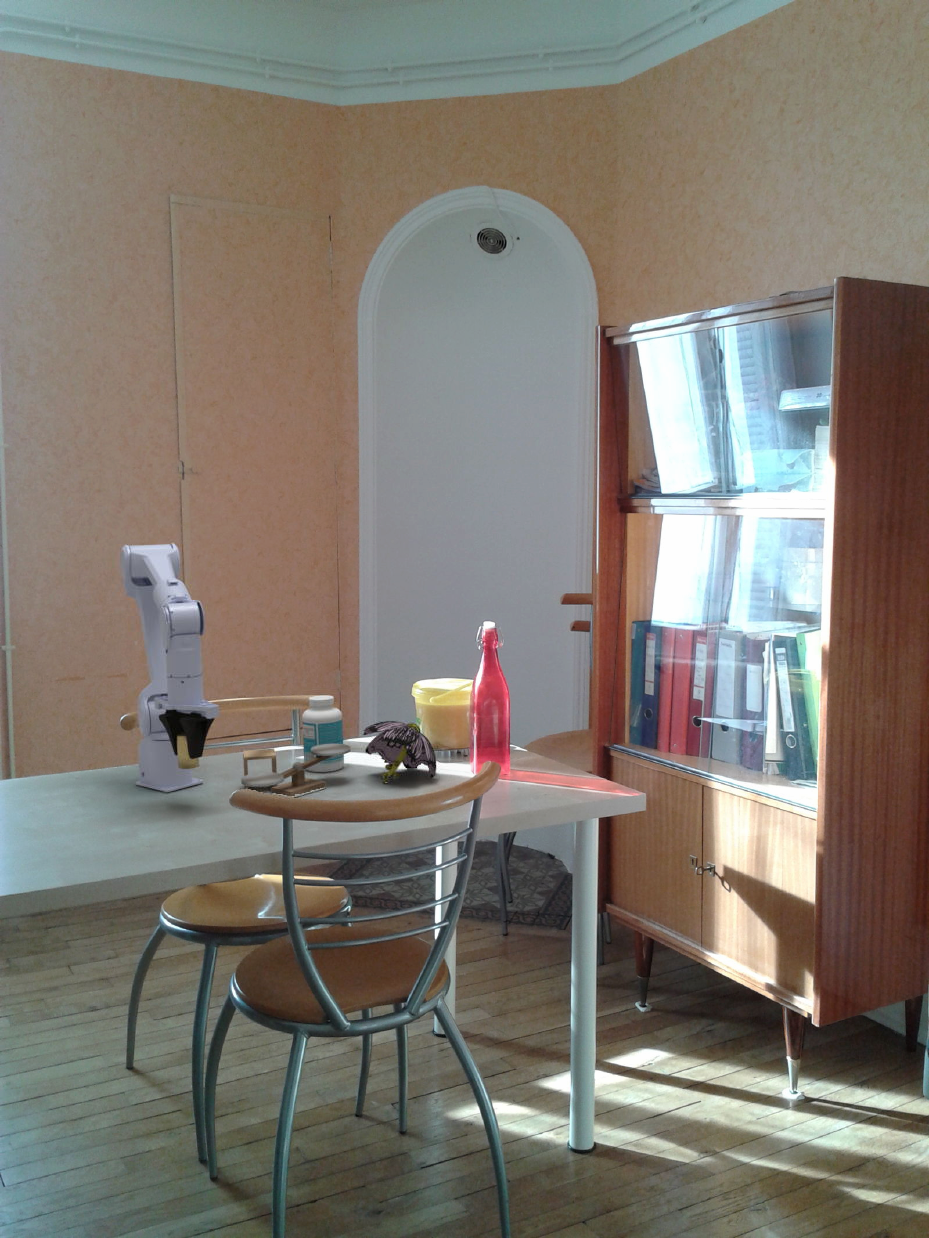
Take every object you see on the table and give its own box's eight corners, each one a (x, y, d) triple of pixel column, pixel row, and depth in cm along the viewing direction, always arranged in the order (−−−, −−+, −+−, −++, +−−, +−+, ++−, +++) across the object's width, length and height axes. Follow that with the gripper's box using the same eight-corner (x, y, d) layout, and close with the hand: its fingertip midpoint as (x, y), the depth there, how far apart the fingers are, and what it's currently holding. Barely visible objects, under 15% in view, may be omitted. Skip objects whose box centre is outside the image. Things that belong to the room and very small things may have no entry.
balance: (233, 803, 186) (231, 767, 186) (331, 774, 204) (330, 741, 203) (261, 810, 182) (260, 773, 181) (359, 780, 200) (358, 746, 199)
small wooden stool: (245, 793, 193) (244, 757, 192) (244, 785, 198) (243, 750, 197) (277, 790, 194) (275, 755, 193) (275, 783, 199) (274, 748, 198)
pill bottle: (347, 763, 212) (345, 693, 211) (339, 773, 205) (337, 701, 203) (309, 763, 213) (306, 693, 211) (299, 773, 206) (297, 701, 204)
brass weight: (173, 767, 185) (172, 735, 184) (190, 762, 188) (188, 731, 187) (186, 770, 183) (185, 737, 182) (203, 765, 186) (201, 733, 185)
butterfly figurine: (460, 727, 197) (379, 709, 192) (448, 792, 194) (366, 775, 190) (433, 733, 210) (358, 717, 206) (422, 795, 207) (345, 779, 203)
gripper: (137, 674, 185) (141, 754, 187) (192, 683, 176) (196, 767, 178) (172, 668, 190) (176, 746, 192) (227, 676, 181) (231, 758, 183)
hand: (188, 755), depth 185 cm, fingers closed on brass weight, 3 cm apart
